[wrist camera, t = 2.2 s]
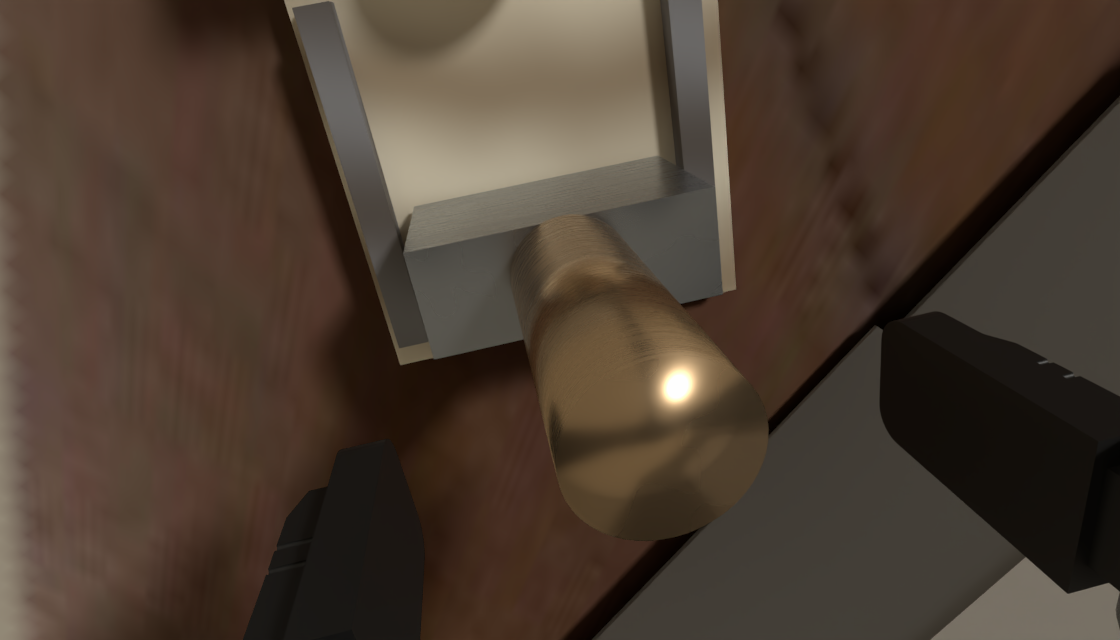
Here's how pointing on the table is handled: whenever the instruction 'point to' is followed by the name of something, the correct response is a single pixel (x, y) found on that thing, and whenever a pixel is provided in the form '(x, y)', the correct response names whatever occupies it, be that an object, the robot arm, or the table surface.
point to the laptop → (912, 463)
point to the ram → (603, 335)
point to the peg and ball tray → (505, 107)
